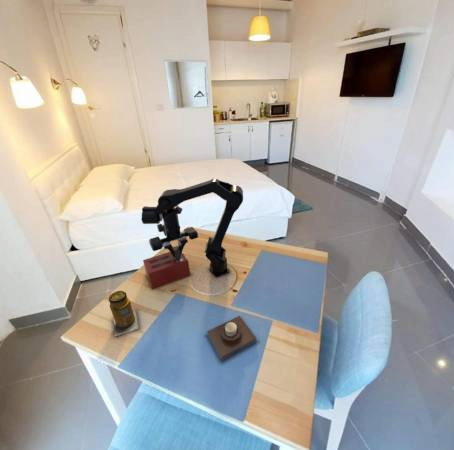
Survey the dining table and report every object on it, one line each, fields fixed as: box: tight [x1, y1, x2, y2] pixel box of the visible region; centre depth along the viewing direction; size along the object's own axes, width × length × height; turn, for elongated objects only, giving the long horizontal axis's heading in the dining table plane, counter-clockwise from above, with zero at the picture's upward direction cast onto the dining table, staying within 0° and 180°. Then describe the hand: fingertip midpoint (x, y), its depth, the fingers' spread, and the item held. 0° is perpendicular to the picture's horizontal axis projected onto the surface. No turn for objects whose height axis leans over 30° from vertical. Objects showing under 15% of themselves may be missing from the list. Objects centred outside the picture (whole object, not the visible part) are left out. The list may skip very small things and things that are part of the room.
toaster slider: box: [172, 245, 181, 259], centre depth 104 cm, size 2×3×4 cm
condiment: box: [108, 290, 139, 337], centre depth 82 cm, size 7×8×12 cm
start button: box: [225, 322, 237, 336], centre depth 77 cm, size 4×4×2 cm
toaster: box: [142, 251, 191, 290], centre depth 105 cm, size 16×10×8 cm, turn 120°
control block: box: [206, 315, 257, 362], centre depth 78 cm, size 12×10×4 cm
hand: (176, 255), depth 105 cm, fingers closed on toaster slider, 2 cm apart
